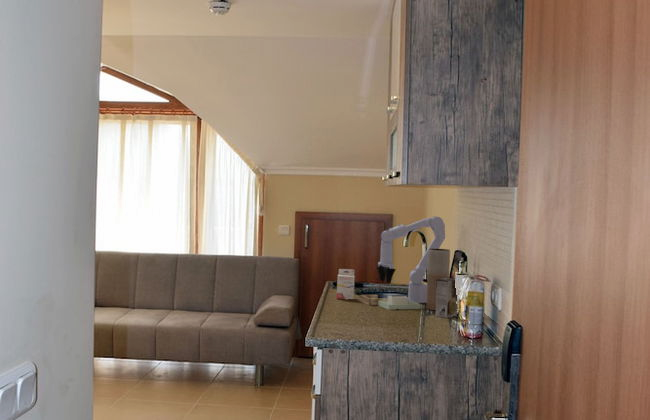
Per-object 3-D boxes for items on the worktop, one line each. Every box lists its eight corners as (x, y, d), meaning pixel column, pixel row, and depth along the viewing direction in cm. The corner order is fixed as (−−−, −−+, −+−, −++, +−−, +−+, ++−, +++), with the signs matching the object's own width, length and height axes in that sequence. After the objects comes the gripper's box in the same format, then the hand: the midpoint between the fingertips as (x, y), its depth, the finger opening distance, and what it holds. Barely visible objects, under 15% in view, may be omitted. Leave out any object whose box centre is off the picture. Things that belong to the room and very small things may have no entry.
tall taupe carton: (451, 310, 289) (453, 250, 289) (431, 311, 286) (433, 249, 286) (442, 307, 298) (444, 248, 298) (422, 307, 296) (425, 248, 296)
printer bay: (376, 300, 313) (376, 294, 313) (387, 304, 300) (387, 298, 300) (358, 301, 310) (359, 294, 310) (369, 305, 297) (369, 298, 297)
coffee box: (446, 314, 279) (448, 277, 279) (459, 316, 275) (460, 279, 275) (434, 315, 273) (436, 278, 273) (447, 318, 268) (448, 280, 268)
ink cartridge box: (336, 299, 314) (337, 269, 314) (337, 297, 319) (338, 268, 319) (353, 299, 313) (354, 270, 313) (354, 298, 318) (355, 269, 318)
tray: (408, 305, 302) (409, 300, 302) (420, 309, 291) (420, 304, 291) (378, 305, 297) (378, 300, 297) (388, 309, 286) (388, 304, 286)
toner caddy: (403, 305, 297) (403, 294, 297) (407, 306, 293) (408, 295, 293) (387, 305, 295) (387, 294, 295) (391, 307, 290) (392, 295, 290)
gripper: (373, 253, 320) (372, 280, 320) (384, 255, 306) (383, 283, 306) (385, 253, 322) (385, 280, 322) (398, 255, 309) (397, 283, 309)
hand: (385, 281), depth 314 cm, fingers open, 7 cm apart
